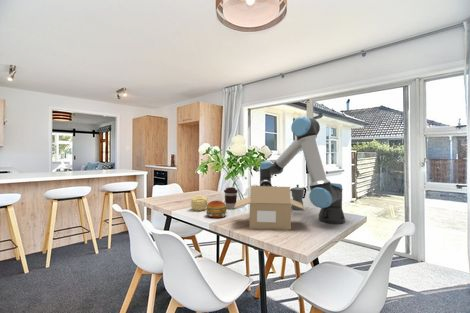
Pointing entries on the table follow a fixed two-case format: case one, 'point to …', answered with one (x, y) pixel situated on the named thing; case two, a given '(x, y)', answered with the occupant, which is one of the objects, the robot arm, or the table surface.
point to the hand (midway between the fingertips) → (267, 192)
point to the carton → (269, 214)
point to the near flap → (270, 194)
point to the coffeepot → (298, 196)
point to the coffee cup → (230, 197)
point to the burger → (216, 209)
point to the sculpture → (199, 203)
